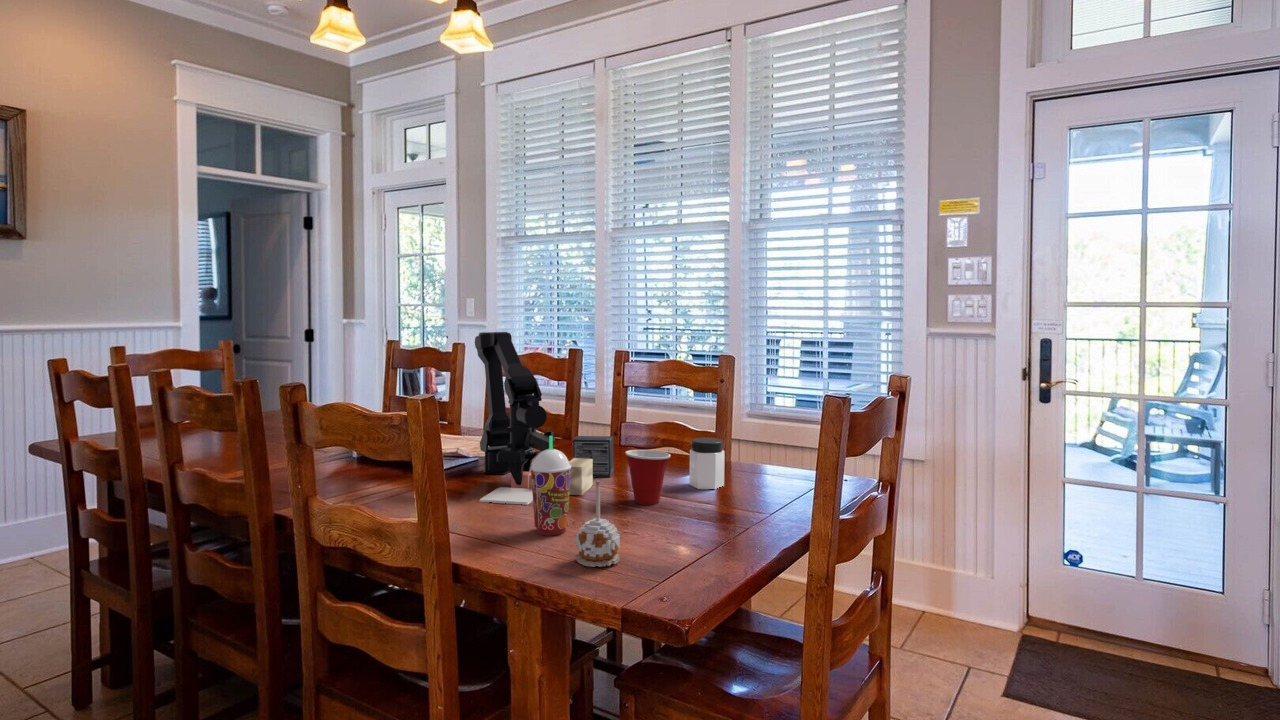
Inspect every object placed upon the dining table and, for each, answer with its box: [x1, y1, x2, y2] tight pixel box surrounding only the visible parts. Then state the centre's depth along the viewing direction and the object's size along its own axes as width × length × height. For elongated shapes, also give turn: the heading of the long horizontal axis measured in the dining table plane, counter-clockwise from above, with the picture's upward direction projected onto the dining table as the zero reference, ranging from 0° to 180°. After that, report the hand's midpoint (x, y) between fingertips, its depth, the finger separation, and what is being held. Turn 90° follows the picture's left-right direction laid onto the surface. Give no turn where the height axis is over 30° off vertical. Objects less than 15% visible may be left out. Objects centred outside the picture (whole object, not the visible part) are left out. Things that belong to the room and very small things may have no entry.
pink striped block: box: [510, 471, 532, 489], centre depth 186 cm, size 14×4×4 cm, turn 78°
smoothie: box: [530, 436, 571, 537], centre depth 150 cm, size 8×8×20 cm
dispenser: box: [568, 458, 594, 496], centre depth 185 cm, size 11×10×7 cm
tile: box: [479, 486, 533, 506], centre depth 177 cm, size 12×12×1 cm
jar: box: [688, 437, 726, 490], centre depth 188 cm, size 9×8×12 cm
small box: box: [572, 435, 614, 478], centre depth 201 cm, size 11×6×10 cm, turn 84°
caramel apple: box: [574, 480, 621, 568], centre depth 132 cm, size 8×8×15 cm
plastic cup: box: [625, 449, 671, 506], centre depth 173 cm, size 11×11×12 cm
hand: (521, 482), depth 187 cm, fingers closed on pink striped block, 4 cm apart
